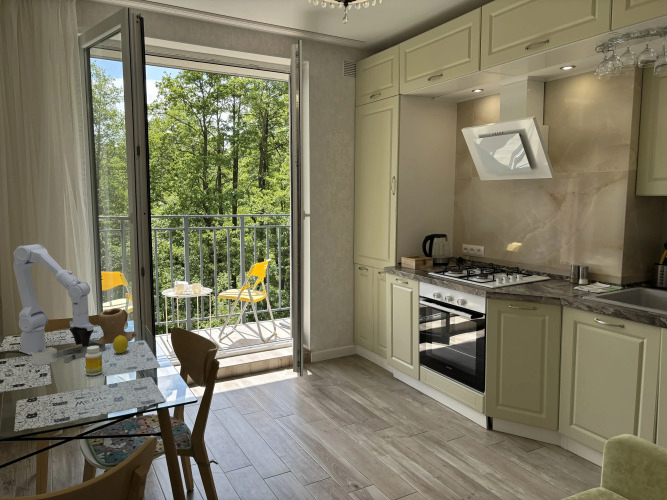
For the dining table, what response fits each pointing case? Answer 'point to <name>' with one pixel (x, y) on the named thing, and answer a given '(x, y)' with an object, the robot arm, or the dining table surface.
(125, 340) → the lemon
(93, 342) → the socket
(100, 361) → the supplement bottle
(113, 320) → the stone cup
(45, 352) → the block
